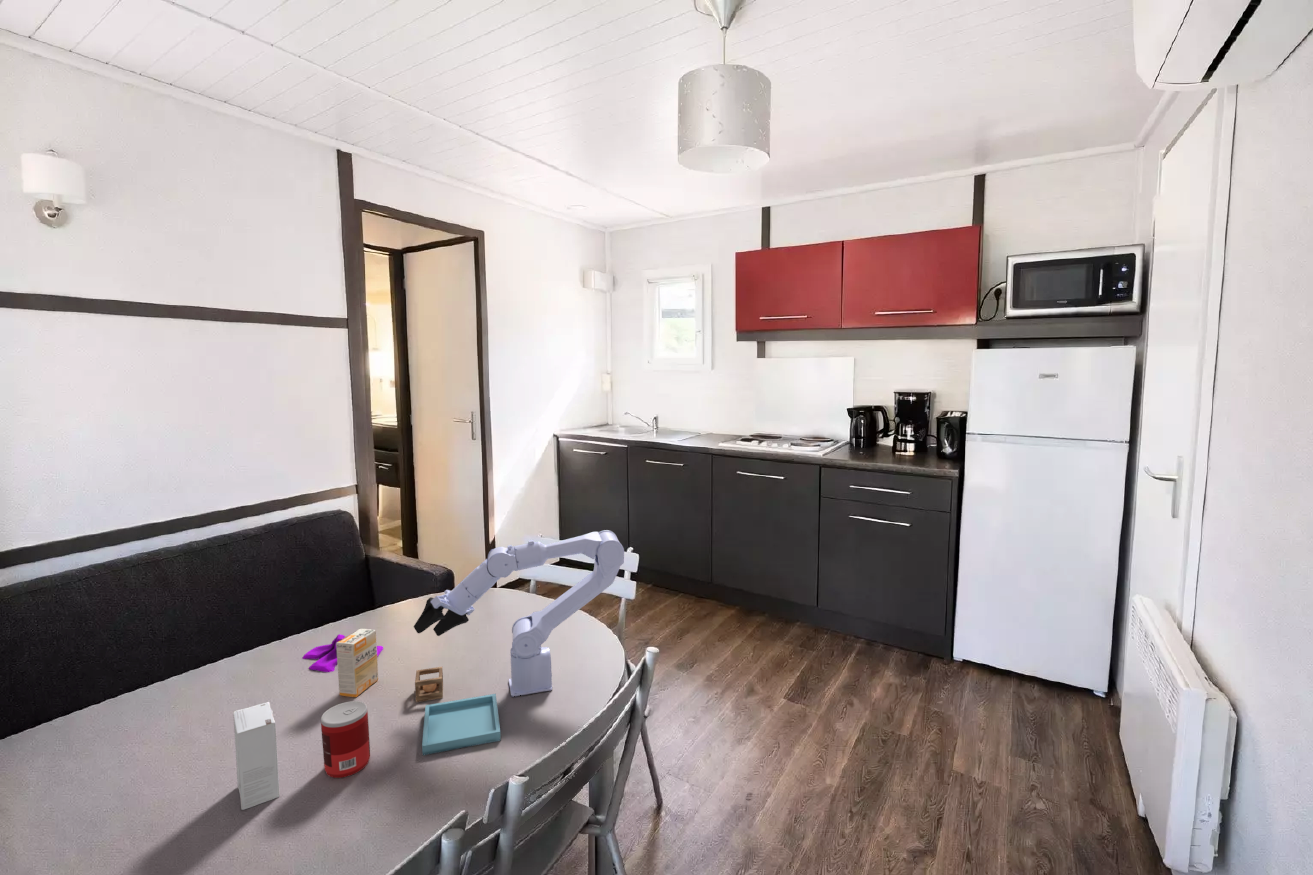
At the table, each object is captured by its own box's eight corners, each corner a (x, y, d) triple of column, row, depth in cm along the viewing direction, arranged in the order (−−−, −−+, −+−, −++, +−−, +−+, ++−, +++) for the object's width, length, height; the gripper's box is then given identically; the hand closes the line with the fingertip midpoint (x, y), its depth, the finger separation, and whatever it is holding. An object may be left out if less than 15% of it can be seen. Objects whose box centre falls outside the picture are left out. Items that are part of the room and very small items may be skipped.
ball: (436, 687, 143) (436, 675, 143) (436, 694, 140) (436, 682, 140) (423, 689, 142) (422, 677, 142) (422, 696, 139) (422, 684, 139)
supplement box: (356, 698, 139) (353, 644, 138) (338, 696, 140) (334, 642, 139) (379, 679, 147) (376, 629, 146) (362, 677, 148) (359, 627, 147)
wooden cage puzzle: (443, 685, 145) (442, 666, 144) (442, 698, 139) (441, 678, 139) (417, 690, 143) (416, 670, 142) (415, 703, 138) (414, 682, 137)
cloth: (393, 657, 160) (392, 635, 159) (315, 682, 147) (313, 659, 146) (365, 630, 176) (364, 610, 175) (293, 651, 163) (291, 629, 162)
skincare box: (237, 786, 110) (230, 710, 108) (275, 772, 114) (269, 699, 112) (241, 813, 104) (234, 732, 102) (282, 797, 108) (276, 719, 106)
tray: (496, 701, 138) (495, 693, 137) (500, 740, 124) (500, 731, 123) (426, 713, 133) (425, 705, 133) (422, 755, 119) (422, 746, 119)
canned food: (379, 756, 119) (376, 704, 117) (346, 783, 111) (342, 727, 110) (349, 748, 121) (345, 697, 120) (315, 774, 114) (311, 719, 112)
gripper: (478, 581, 147) (436, 621, 145) (445, 571, 134) (398, 614, 132) (493, 603, 144) (450, 643, 142) (461, 594, 131) (413, 639, 129)
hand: (426, 631), depth 137 cm, fingers open, 7 cm apart
